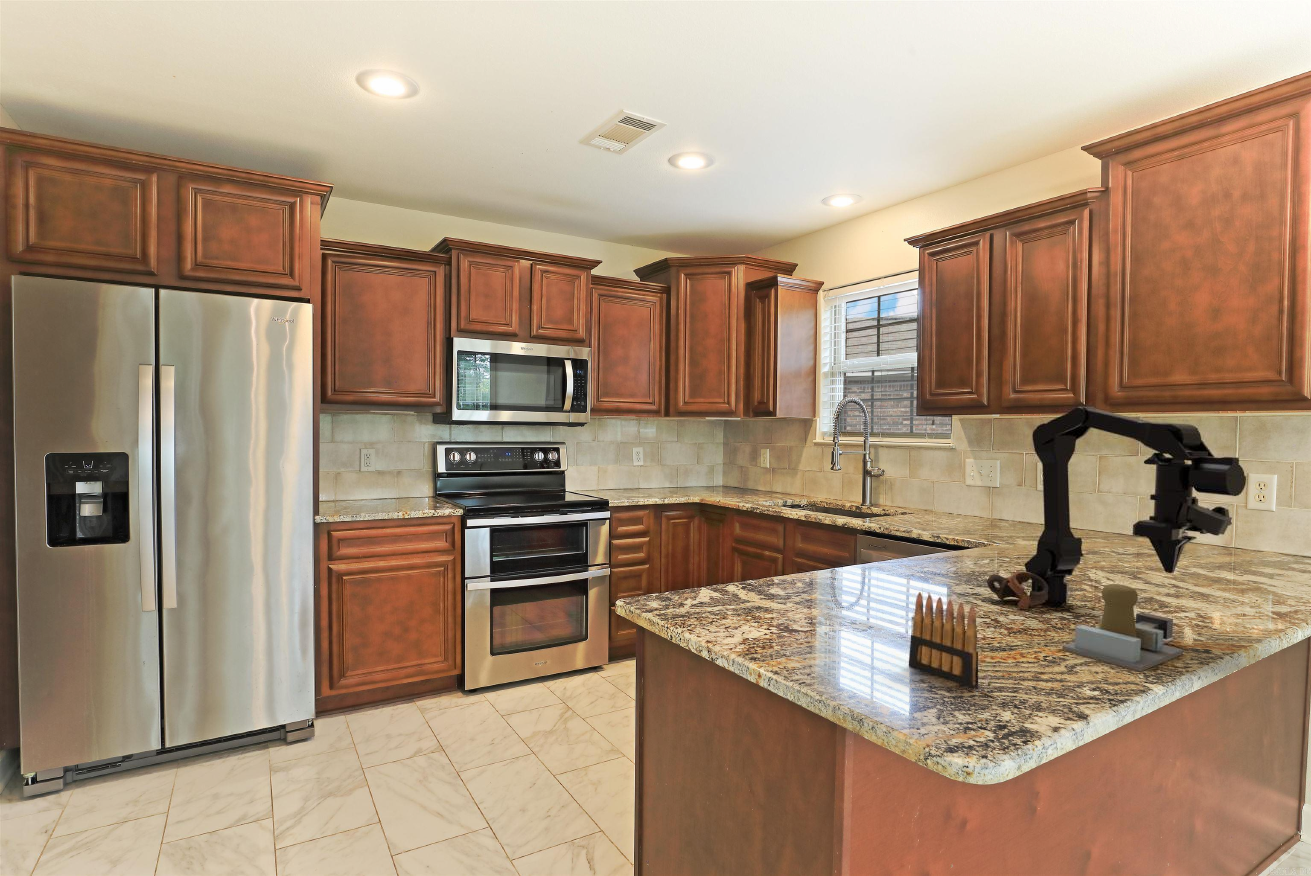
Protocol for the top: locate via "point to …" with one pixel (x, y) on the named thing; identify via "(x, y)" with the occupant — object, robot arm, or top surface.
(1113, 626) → the cork
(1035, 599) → the brown twisted loop knot
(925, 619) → the ammunition clip
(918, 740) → the top surface
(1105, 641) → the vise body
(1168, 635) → the vise jaw
